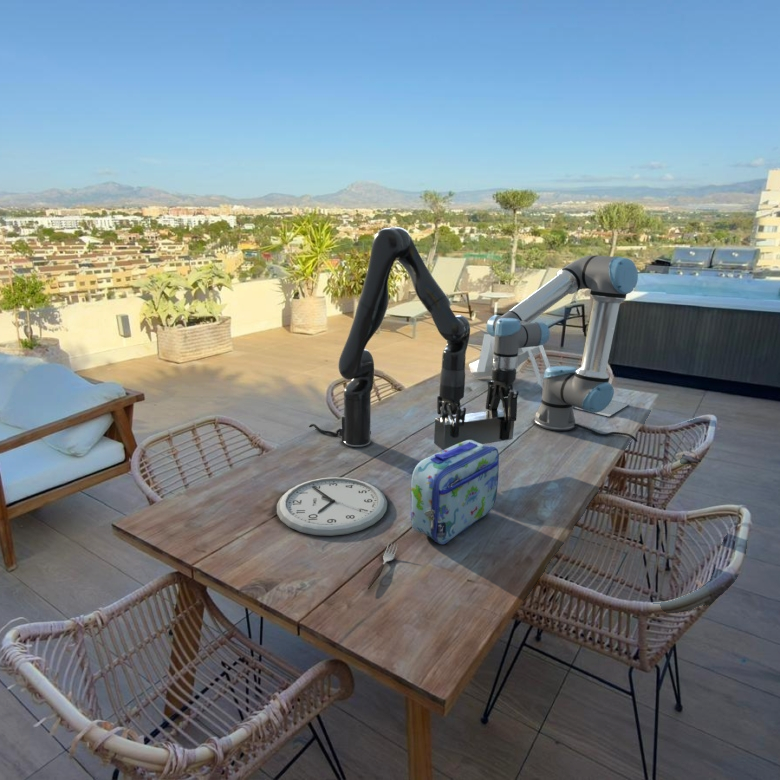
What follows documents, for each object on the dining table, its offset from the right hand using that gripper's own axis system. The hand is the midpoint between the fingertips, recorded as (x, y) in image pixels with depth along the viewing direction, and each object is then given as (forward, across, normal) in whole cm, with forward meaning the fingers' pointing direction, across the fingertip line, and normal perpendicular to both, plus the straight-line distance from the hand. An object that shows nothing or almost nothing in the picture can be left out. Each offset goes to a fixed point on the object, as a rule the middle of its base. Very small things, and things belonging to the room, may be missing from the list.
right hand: (498, 435), depth 172 cm
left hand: (-4, 0, -19) cm, 19 cm away
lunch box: (+8, +31, -34) cm, 47 cm away
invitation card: (+8, -28, +73) cm, 78 cm away
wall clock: (+8, +10, -60) cm, 62 cm away
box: (+1, 0, -10) cm, 10 cm away
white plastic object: (+8, -70, +54) cm, 88 cm away
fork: (+8, +41, -58) cm, 72 cm away
